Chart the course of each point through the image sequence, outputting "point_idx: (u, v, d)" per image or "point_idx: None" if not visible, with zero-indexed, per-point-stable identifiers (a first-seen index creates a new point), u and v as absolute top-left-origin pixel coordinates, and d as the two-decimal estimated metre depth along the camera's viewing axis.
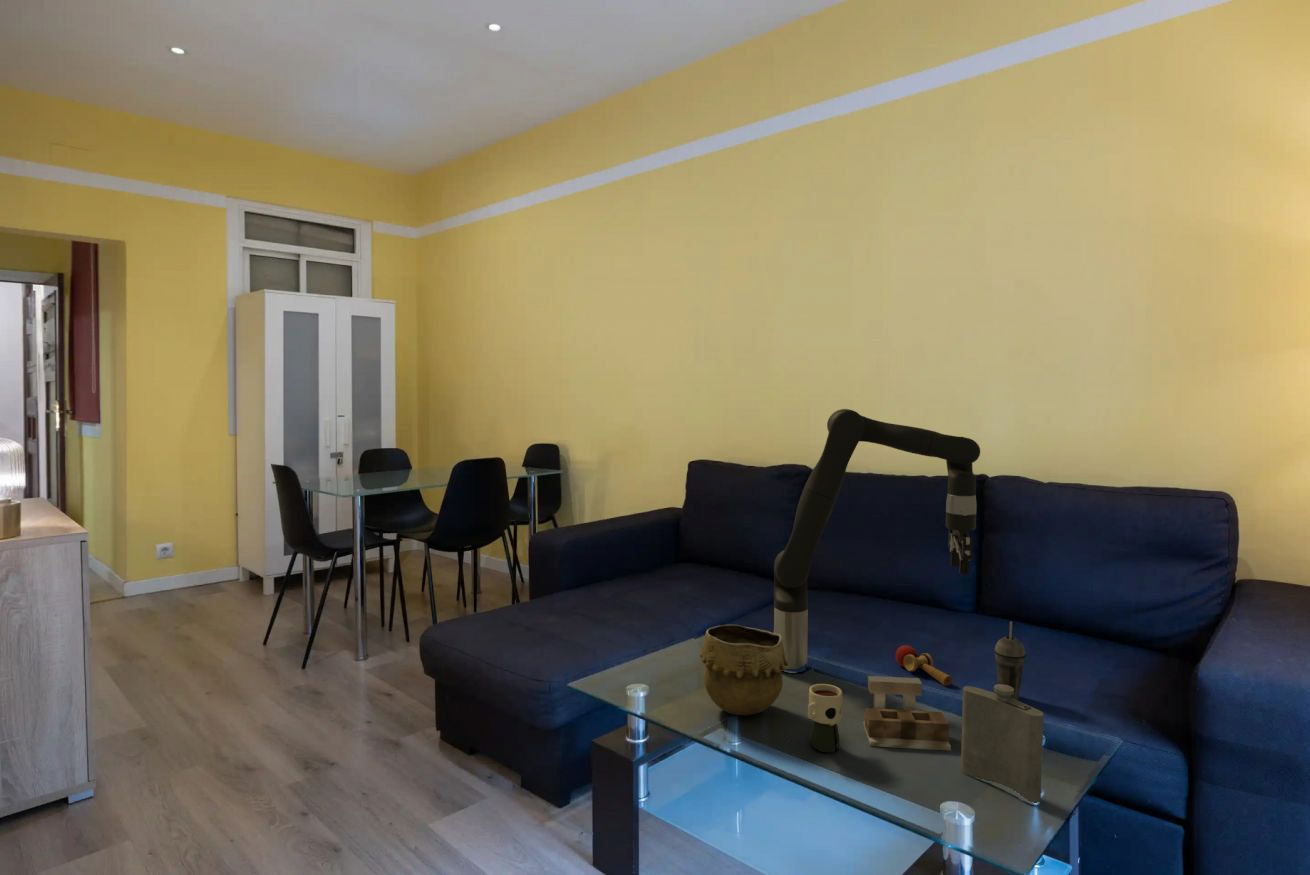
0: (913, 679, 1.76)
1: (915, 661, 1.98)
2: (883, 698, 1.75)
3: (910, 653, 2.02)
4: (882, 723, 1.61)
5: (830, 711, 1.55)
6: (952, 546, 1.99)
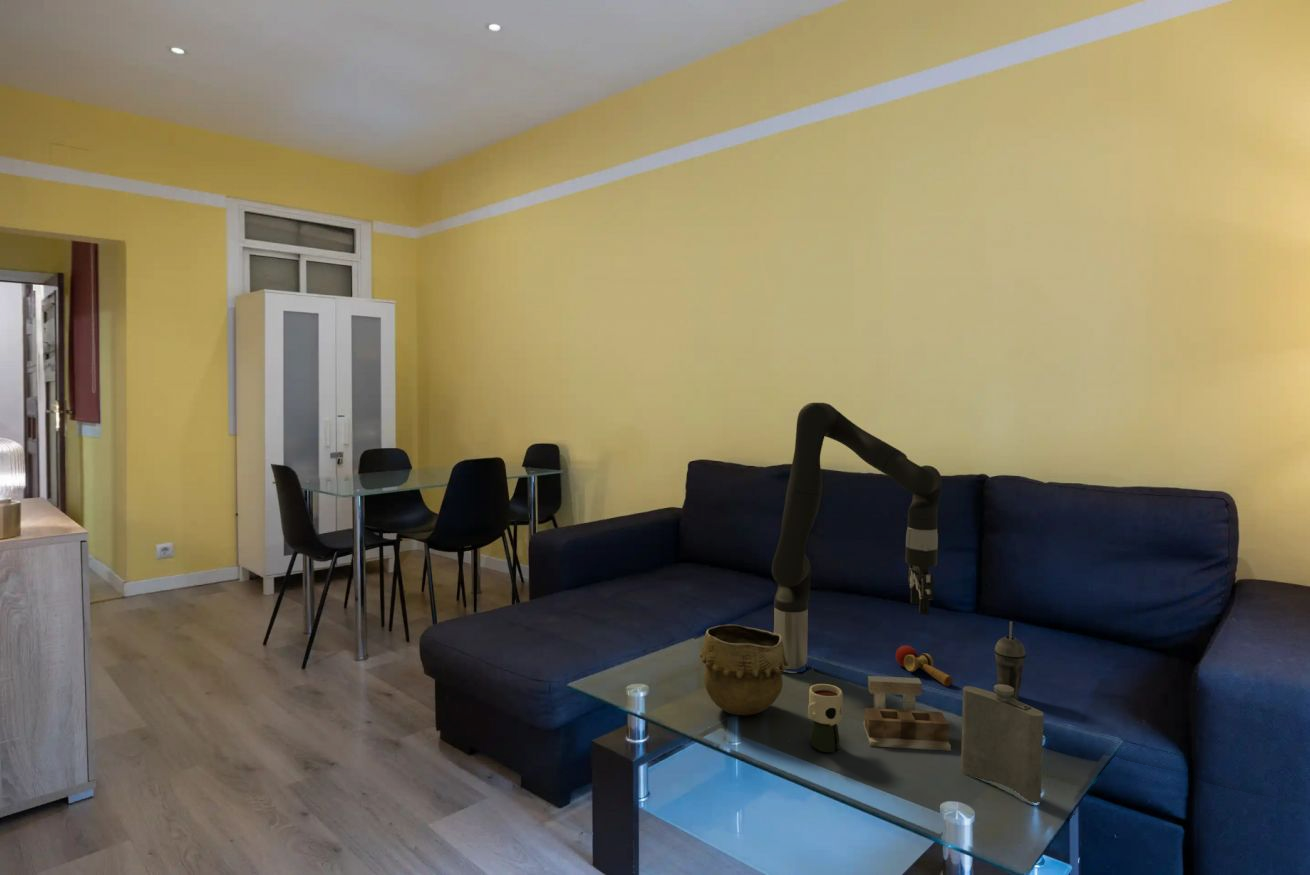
0: (913, 679, 1.76)
1: (915, 661, 1.98)
2: (883, 698, 1.75)
3: (910, 653, 2.02)
4: (882, 723, 1.61)
5: (830, 711, 1.55)
6: (912, 582, 1.86)
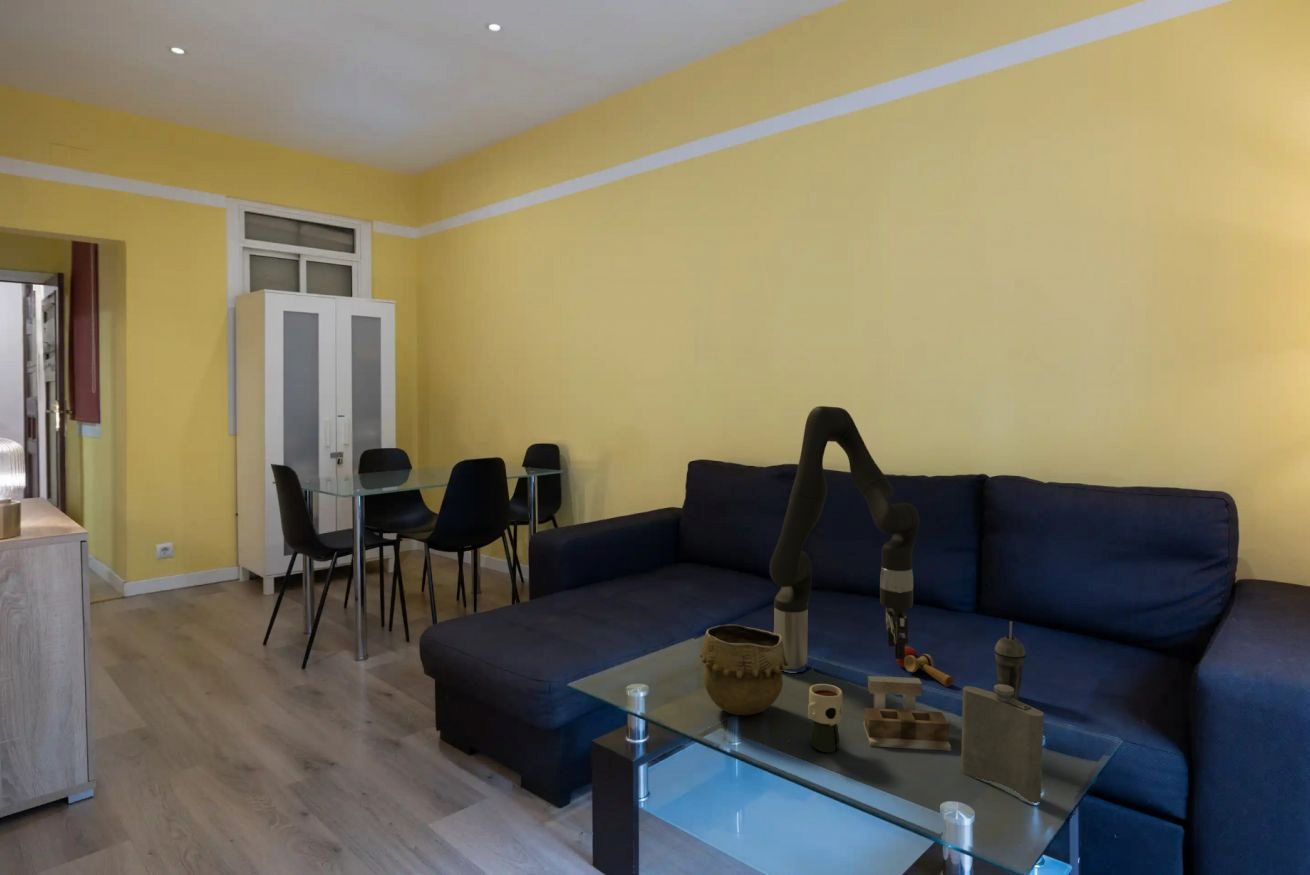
0: (913, 679, 1.76)
1: (916, 662, 1.97)
2: (883, 698, 1.75)
3: (910, 654, 2.02)
4: (882, 723, 1.61)
5: (830, 711, 1.55)
6: (888, 624, 1.78)
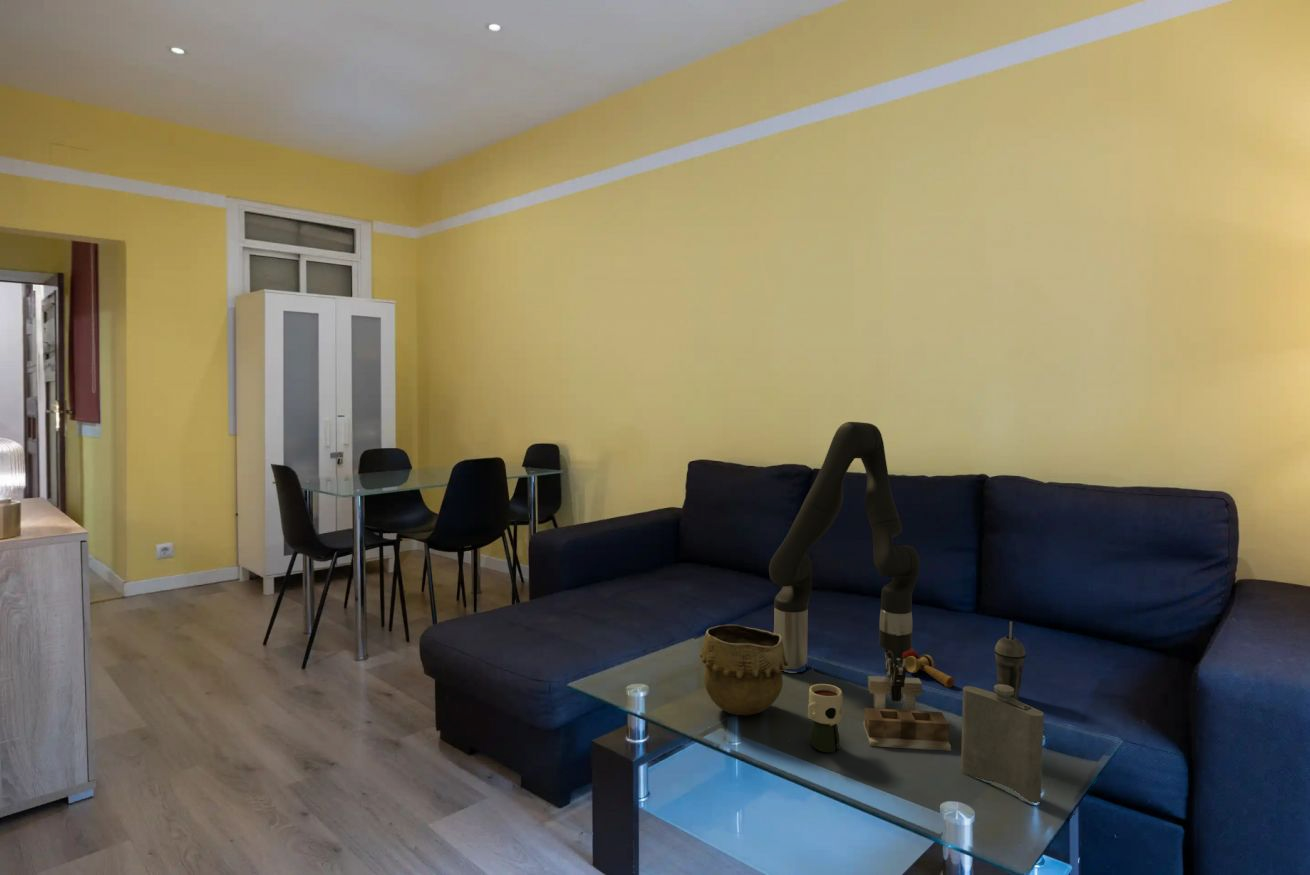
0: (913, 679, 1.76)
1: (917, 663, 1.97)
2: (883, 698, 1.75)
3: (911, 655, 2.01)
4: (882, 723, 1.61)
5: (830, 711, 1.55)
6: (888, 669, 1.77)
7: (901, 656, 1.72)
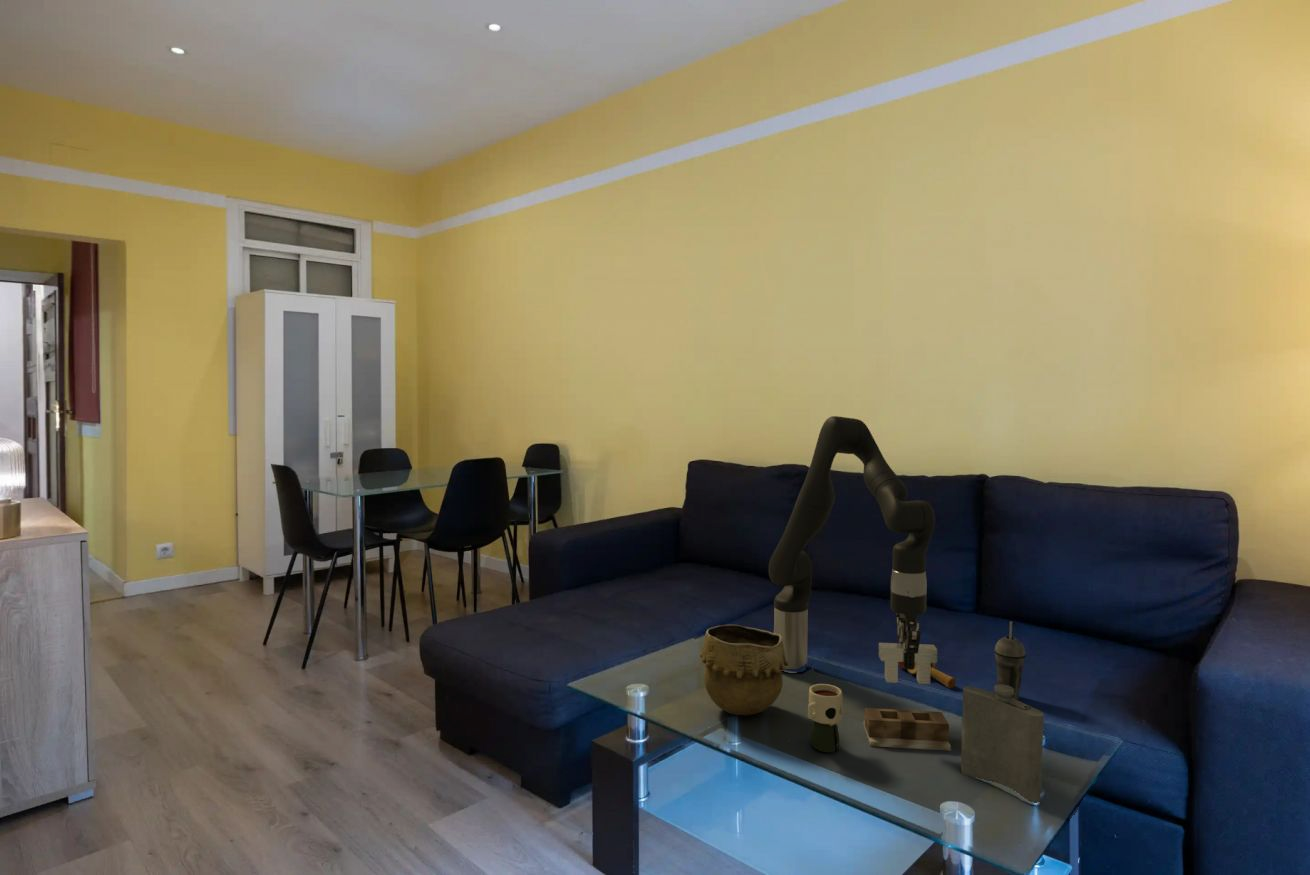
0: (928, 646, 1.62)
1: None
2: (895, 666, 1.62)
3: None
4: (882, 723, 1.61)
5: (830, 711, 1.55)
6: (900, 635, 1.63)
7: (915, 620, 1.58)
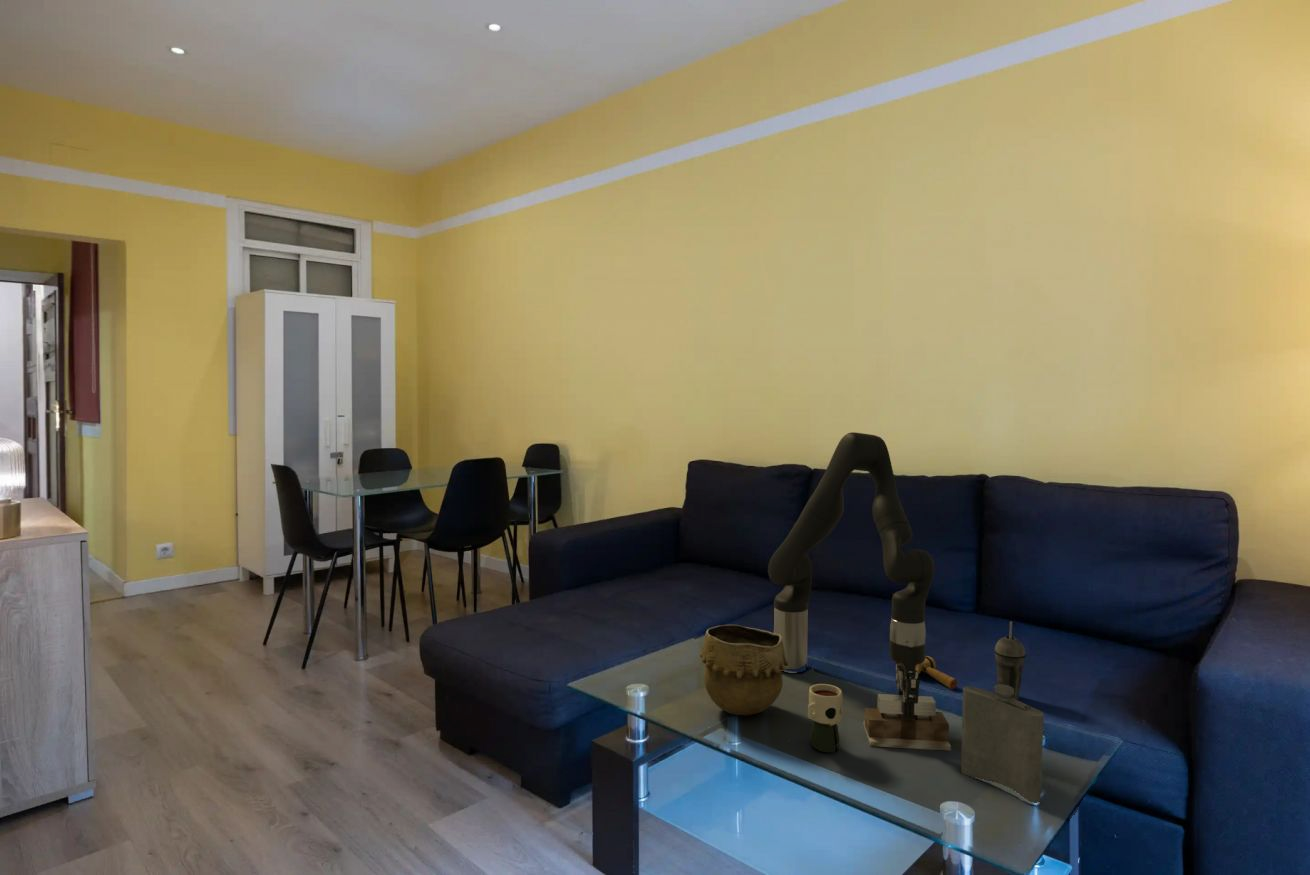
0: (926, 698, 1.63)
1: (919, 665, 1.96)
2: (894, 718, 1.63)
3: None
4: (882, 723, 1.61)
5: (830, 711, 1.55)
6: (899, 681, 1.65)
7: (913, 669, 1.59)
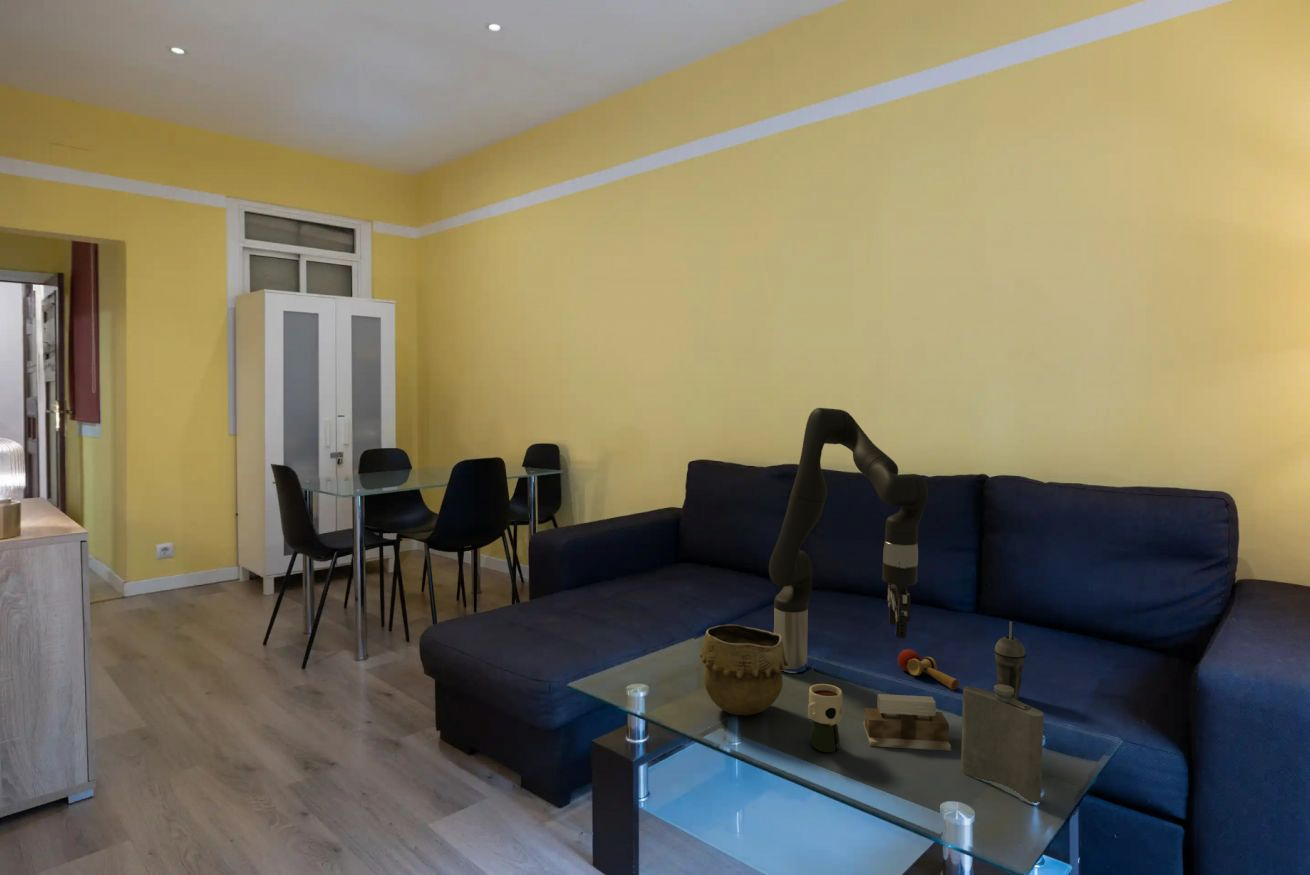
0: (926, 698, 1.63)
1: (920, 665, 1.95)
2: (894, 718, 1.63)
3: (913, 657, 1.99)
4: (882, 723, 1.61)
5: (830, 711, 1.55)
6: (890, 601, 1.69)
7: (905, 590, 1.61)
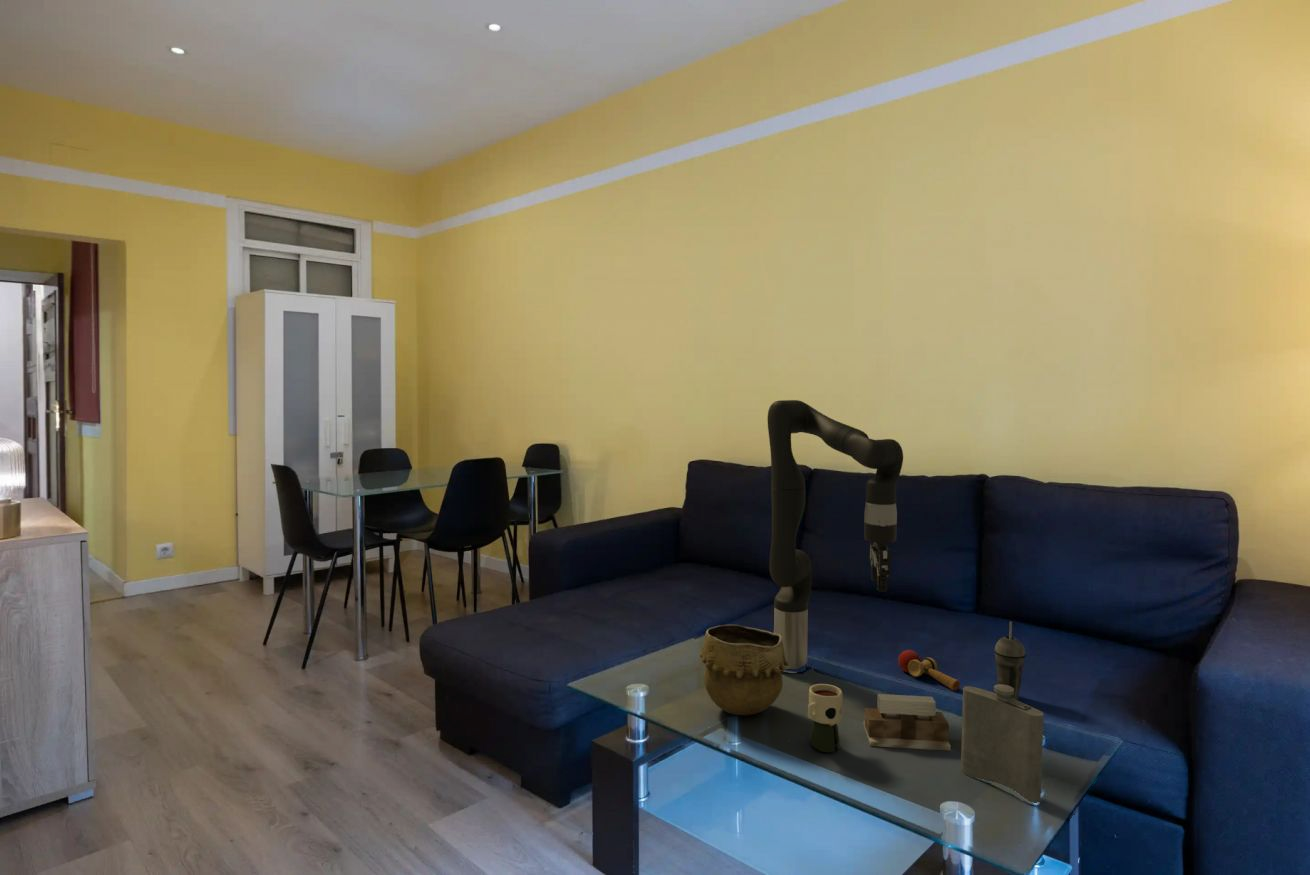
0: (926, 698, 1.63)
1: (921, 666, 1.94)
2: (894, 718, 1.63)
3: (914, 658, 1.99)
4: (882, 723, 1.61)
5: (830, 711, 1.55)
6: (872, 560, 1.80)
7: (885, 547, 1.73)
